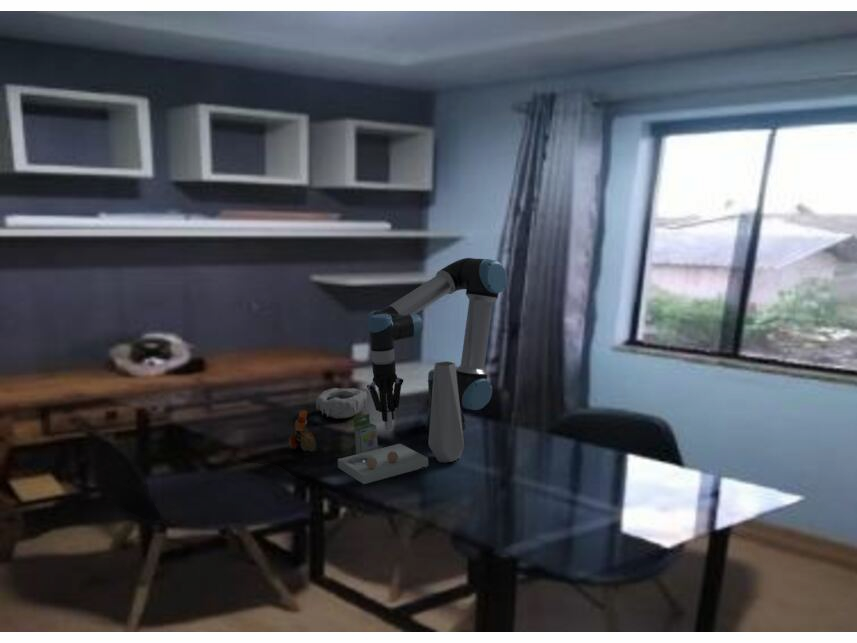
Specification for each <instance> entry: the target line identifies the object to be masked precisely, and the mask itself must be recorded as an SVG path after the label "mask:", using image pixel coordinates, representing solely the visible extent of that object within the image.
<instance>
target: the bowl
mask: <svg viewBox="0 0 857 643" xmlns="http://www.w3.org/2000/svg"><path fill="white" fill-rule="evenodd" d="M315 399H316V400H315V402H316V403H315V404H316V405H315V406H316V407H315V409H316V410H317V412H318V410H319V411H320V412H321V416H324V414H326V417H327V418H329V417H330V418H332V419H336V420H337V419H347V418H348V419H349V418H351V417H353V416H355V415H357V414H358V413H360V412H361V411H362V410H364V409H365V408H366V407H367V403H368V396H367V391H365V390H361V389H357V388H355V387H354V388H353V387H352V388H350V387H349V388H337V387H333V388H329V389H327V390H324V391H323V392H321V394H320V395H318V396H317V397H316V398H315Z"/></svg>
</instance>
